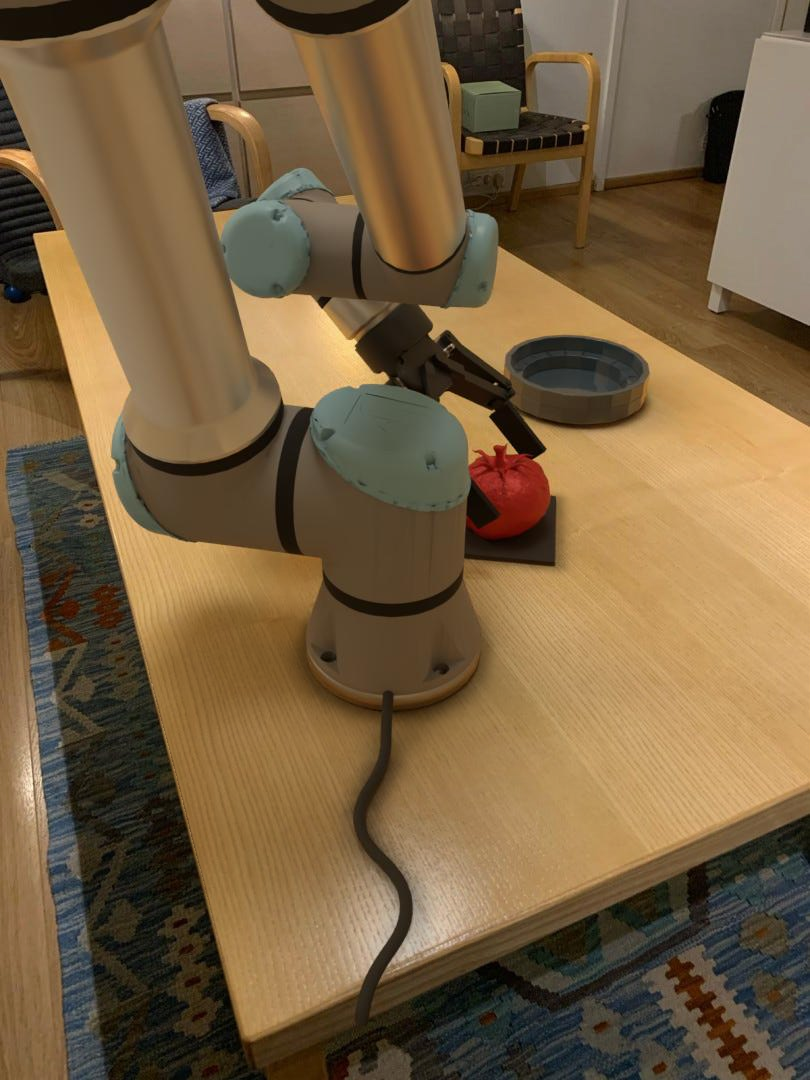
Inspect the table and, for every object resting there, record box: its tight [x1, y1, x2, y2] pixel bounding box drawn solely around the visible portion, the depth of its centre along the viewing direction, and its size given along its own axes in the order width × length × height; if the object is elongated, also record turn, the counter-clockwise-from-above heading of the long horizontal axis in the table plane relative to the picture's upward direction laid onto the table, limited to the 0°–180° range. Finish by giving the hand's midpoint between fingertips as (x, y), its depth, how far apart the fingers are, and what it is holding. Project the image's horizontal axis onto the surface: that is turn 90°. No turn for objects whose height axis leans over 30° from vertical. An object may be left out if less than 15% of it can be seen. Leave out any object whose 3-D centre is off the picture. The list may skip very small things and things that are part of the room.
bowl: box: [503, 334, 651, 425], centre depth 116 cm, size 19×19×4 cm
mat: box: [464, 495, 557, 566], centre depth 92 cm, size 12×12×1 cm
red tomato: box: [466, 442, 551, 540], centre depth 89 cm, size 10×10×9 cm
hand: (514, 487), depth 89 cm, fingers open, 13 cm apart
